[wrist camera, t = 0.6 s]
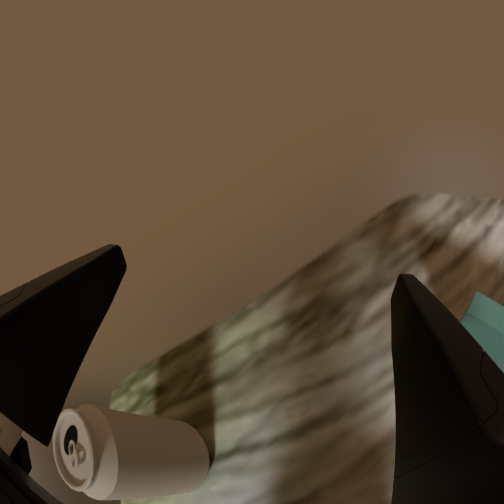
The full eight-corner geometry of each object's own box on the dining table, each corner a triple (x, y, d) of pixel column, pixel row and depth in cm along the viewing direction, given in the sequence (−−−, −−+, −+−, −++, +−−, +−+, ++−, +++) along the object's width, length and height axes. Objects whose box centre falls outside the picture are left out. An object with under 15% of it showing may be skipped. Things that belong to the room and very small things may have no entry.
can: (177, 405, 24) (67, 377, 15) (230, 454, 19) (109, 457, 10) (145, 455, 22) (40, 441, 13) (190, 504, 17) (75, 517, 8)
